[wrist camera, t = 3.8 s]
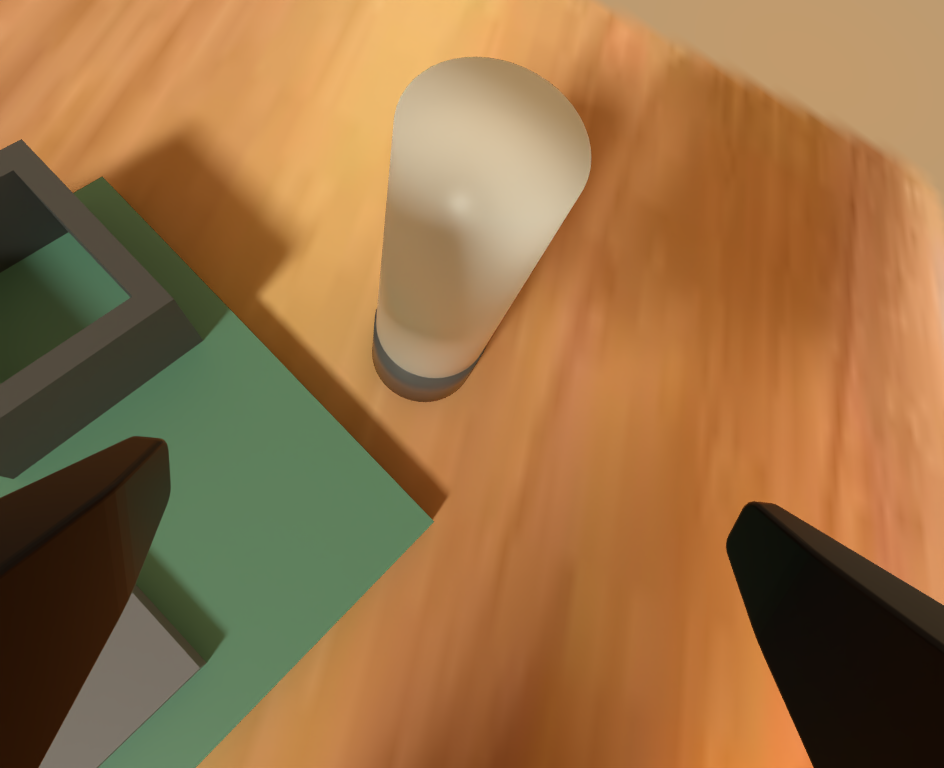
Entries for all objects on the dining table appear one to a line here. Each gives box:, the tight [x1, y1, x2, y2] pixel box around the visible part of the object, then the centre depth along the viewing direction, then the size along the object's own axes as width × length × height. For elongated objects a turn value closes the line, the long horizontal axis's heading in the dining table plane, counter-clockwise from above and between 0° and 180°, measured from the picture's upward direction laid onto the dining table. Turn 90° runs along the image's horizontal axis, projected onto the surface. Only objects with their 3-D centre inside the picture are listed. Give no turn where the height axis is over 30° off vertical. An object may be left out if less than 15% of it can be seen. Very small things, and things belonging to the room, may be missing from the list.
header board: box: [0, 139, 434, 768], centre depth 17 cm, size 18×16×4 cm
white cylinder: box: [372, 57, 591, 402], centre depth 17 cm, size 4×4×12 cm
